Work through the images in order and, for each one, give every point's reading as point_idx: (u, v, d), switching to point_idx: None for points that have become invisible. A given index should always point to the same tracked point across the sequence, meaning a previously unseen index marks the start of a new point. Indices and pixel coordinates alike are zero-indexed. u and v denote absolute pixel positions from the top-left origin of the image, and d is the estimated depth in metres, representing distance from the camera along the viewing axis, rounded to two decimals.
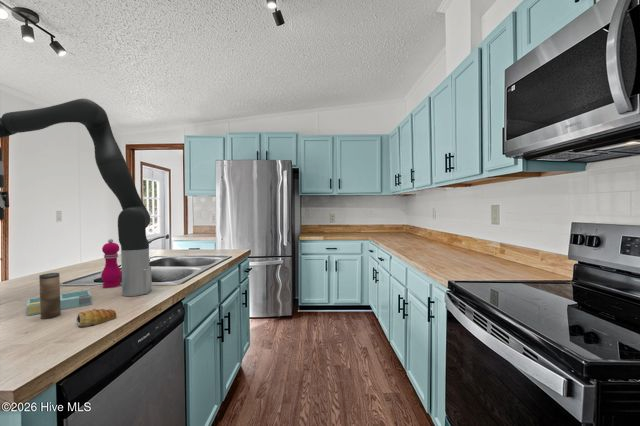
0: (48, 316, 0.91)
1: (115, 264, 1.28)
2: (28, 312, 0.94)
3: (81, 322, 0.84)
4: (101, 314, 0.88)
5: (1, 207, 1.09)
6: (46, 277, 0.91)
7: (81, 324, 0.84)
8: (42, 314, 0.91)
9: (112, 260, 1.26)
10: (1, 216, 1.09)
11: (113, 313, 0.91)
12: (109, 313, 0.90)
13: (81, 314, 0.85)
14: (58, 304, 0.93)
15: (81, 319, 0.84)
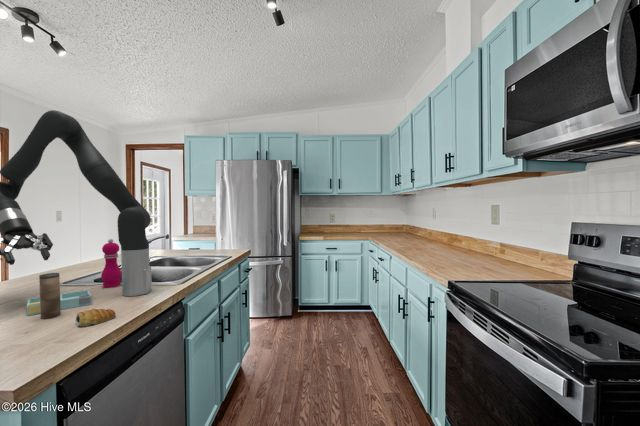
0: (48, 316, 0.91)
1: (115, 264, 1.28)
2: (28, 312, 0.94)
3: (81, 322, 0.84)
4: (101, 314, 0.88)
5: None
6: (46, 277, 0.91)
7: (81, 324, 0.84)
8: (42, 314, 0.91)
9: (112, 260, 1.26)
10: (45, 254, 1.01)
11: (112, 313, 0.91)
12: (108, 313, 0.90)
13: (80, 314, 0.85)
14: (58, 304, 0.93)
15: (81, 319, 0.84)
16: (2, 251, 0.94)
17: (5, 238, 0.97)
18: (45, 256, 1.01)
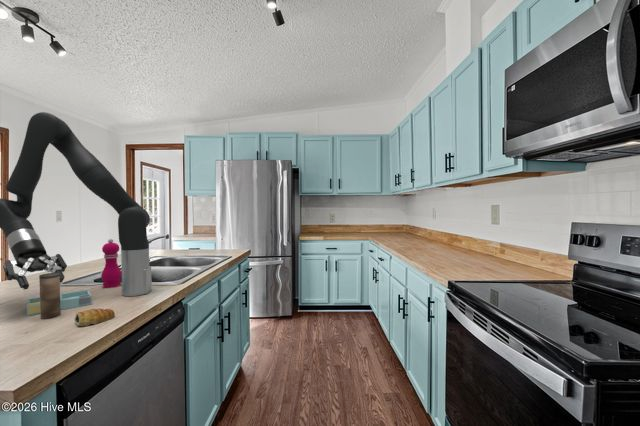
0: (48, 316, 0.91)
1: (115, 264, 1.28)
2: (28, 312, 0.94)
3: (80, 322, 0.84)
4: (100, 313, 0.88)
5: None
6: (46, 277, 0.91)
7: (80, 324, 0.84)
8: (42, 314, 0.91)
9: (112, 260, 1.26)
10: None
11: (111, 312, 0.91)
12: (108, 312, 0.90)
13: (80, 314, 0.86)
14: (58, 304, 0.93)
15: (80, 319, 0.85)
16: (16, 275, 0.90)
17: (18, 261, 0.93)
18: None
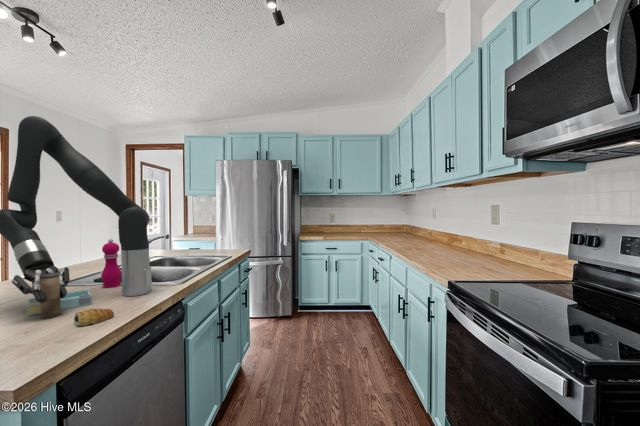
0: (48, 316, 0.91)
1: (115, 264, 1.28)
2: (28, 312, 0.94)
3: (79, 321, 0.84)
4: (99, 313, 0.88)
5: None
6: (46, 277, 0.91)
7: (79, 324, 0.84)
8: (42, 314, 0.91)
9: (112, 260, 1.26)
10: (61, 292, 0.94)
11: (111, 312, 0.91)
12: (107, 312, 0.90)
13: (79, 314, 0.86)
14: (58, 304, 0.93)
15: (79, 318, 0.85)
16: (32, 288, 0.90)
17: (26, 274, 0.91)
18: (62, 294, 0.94)
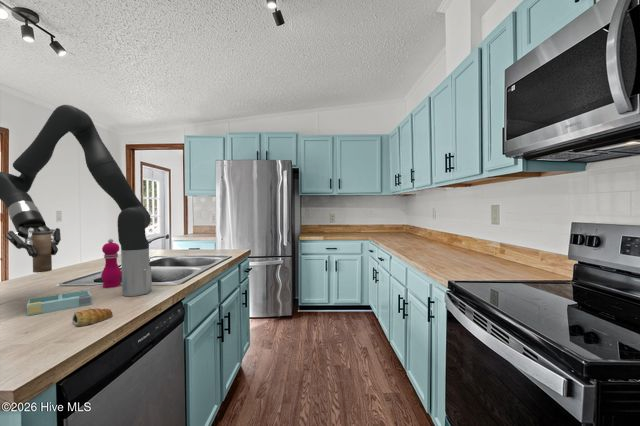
0: (40, 270, 0.98)
1: (115, 264, 1.28)
2: (28, 312, 0.94)
3: (78, 321, 0.85)
4: (98, 313, 0.89)
5: None
6: (38, 233, 0.97)
7: (78, 324, 0.85)
8: (34, 268, 0.98)
9: (112, 260, 1.26)
10: (53, 249, 1.01)
11: (109, 312, 0.91)
12: (106, 312, 0.90)
13: (78, 313, 0.86)
14: (49, 260, 1.00)
15: (78, 318, 0.85)
16: (25, 243, 0.96)
17: (20, 230, 0.98)
18: (53, 251, 1.01)
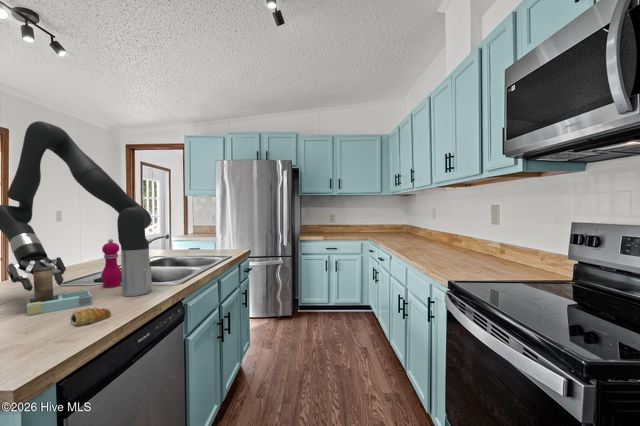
0: None
1: (115, 264, 1.28)
2: (28, 312, 0.94)
3: (77, 321, 0.85)
4: (97, 313, 0.89)
5: (55, 272, 1.04)
6: (39, 270, 0.98)
7: (77, 323, 0.85)
8: None
9: (112, 260, 1.26)
10: (58, 279, 1.03)
11: (108, 312, 0.92)
12: (104, 312, 0.91)
13: (76, 313, 0.86)
14: (51, 295, 1.01)
15: (77, 318, 0.85)
16: (20, 277, 0.96)
17: (21, 264, 0.99)
18: (59, 281, 1.03)
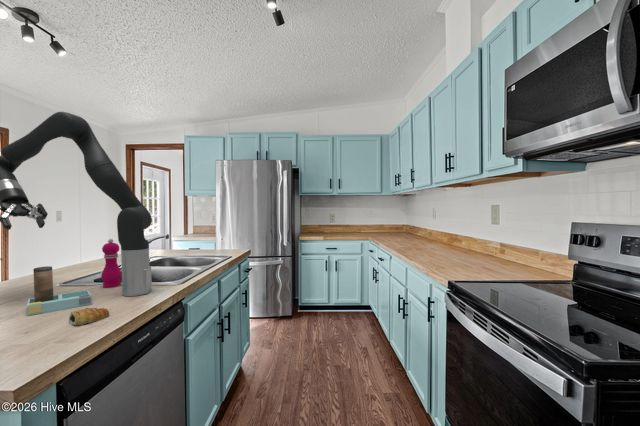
0: None
1: (115, 264, 1.28)
2: (28, 312, 0.94)
3: (76, 321, 0.85)
4: (95, 312, 0.89)
5: (37, 215, 1.09)
6: (40, 270, 0.98)
7: (76, 323, 0.85)
8: None
9: (112, 260, 1.26)
10: (40, 222, 1.08)
11: (106, 311, 0.92)
12: (103, 311, 0.91)
13: (75, 313, 0.86)
14: (51, 295, 1.01)
15: (76, 318, 0.85)
16: None
17: (2, 205, 1.03)
18: (40, 224, 1.08)
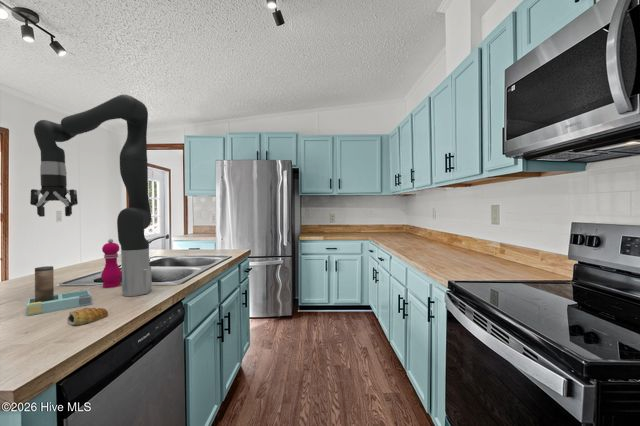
0: None
1: (115, 264, 1.28)
2: (28, 312, 0.94)
3: (75, 321, 0.85)
4: (94, 312, 0.89)
5: None
6: (41, 269, 0.99)
7: (75, 323, 0.85)
8: None
9: (112, 260, 1.26)
10: None
11: (105, 311, 0.92)
12: (101, 311, 0.91)
13: (74, 313, 0.86)
14: (51, 295, 1.01)
15: (75, 318, 0.85)
16: (35, 204, 1.15)
17: (40, 191, 1.15)
18: None
